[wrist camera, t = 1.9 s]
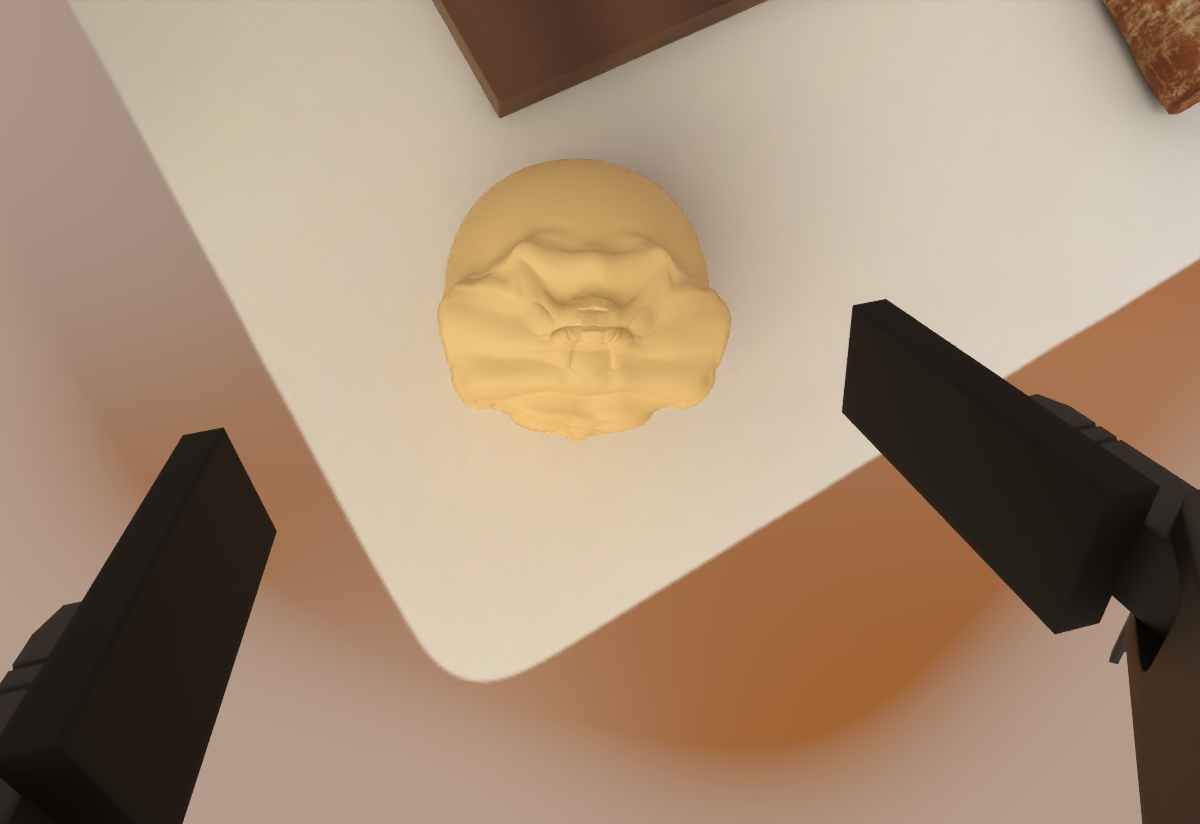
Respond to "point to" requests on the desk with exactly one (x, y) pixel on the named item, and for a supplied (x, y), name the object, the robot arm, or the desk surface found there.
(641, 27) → the cutting board
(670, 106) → the desk surface
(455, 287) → the sculpture
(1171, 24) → the bread
